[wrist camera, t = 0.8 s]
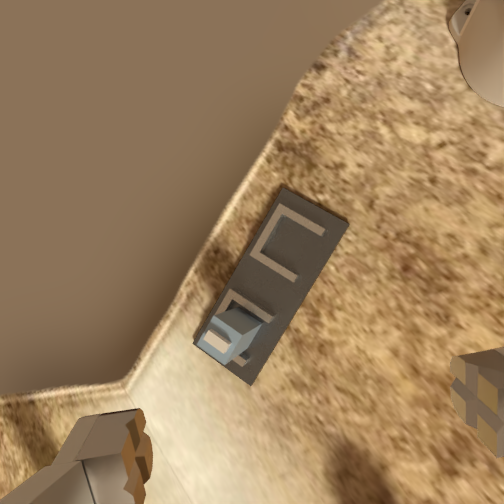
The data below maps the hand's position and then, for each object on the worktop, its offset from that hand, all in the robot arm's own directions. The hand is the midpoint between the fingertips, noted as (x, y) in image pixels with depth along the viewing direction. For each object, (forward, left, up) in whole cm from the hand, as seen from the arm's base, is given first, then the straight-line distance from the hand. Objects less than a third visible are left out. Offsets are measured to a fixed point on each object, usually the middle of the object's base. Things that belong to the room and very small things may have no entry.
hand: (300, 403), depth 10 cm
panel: (+4, -9, -39) cm, 41 cm away
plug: (+11, -9, -39) cm, 41 cm away
